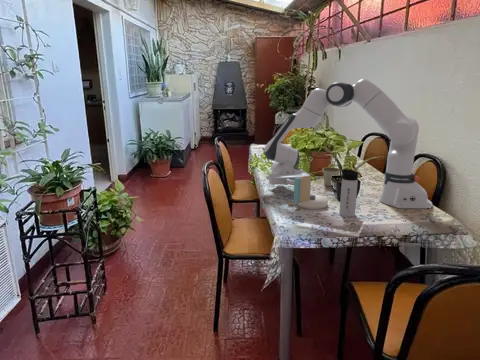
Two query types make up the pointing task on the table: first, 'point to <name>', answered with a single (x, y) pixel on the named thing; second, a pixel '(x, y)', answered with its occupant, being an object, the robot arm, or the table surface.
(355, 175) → the travel mug
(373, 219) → the table surface
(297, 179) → the white base with panel
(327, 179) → the flower pot
